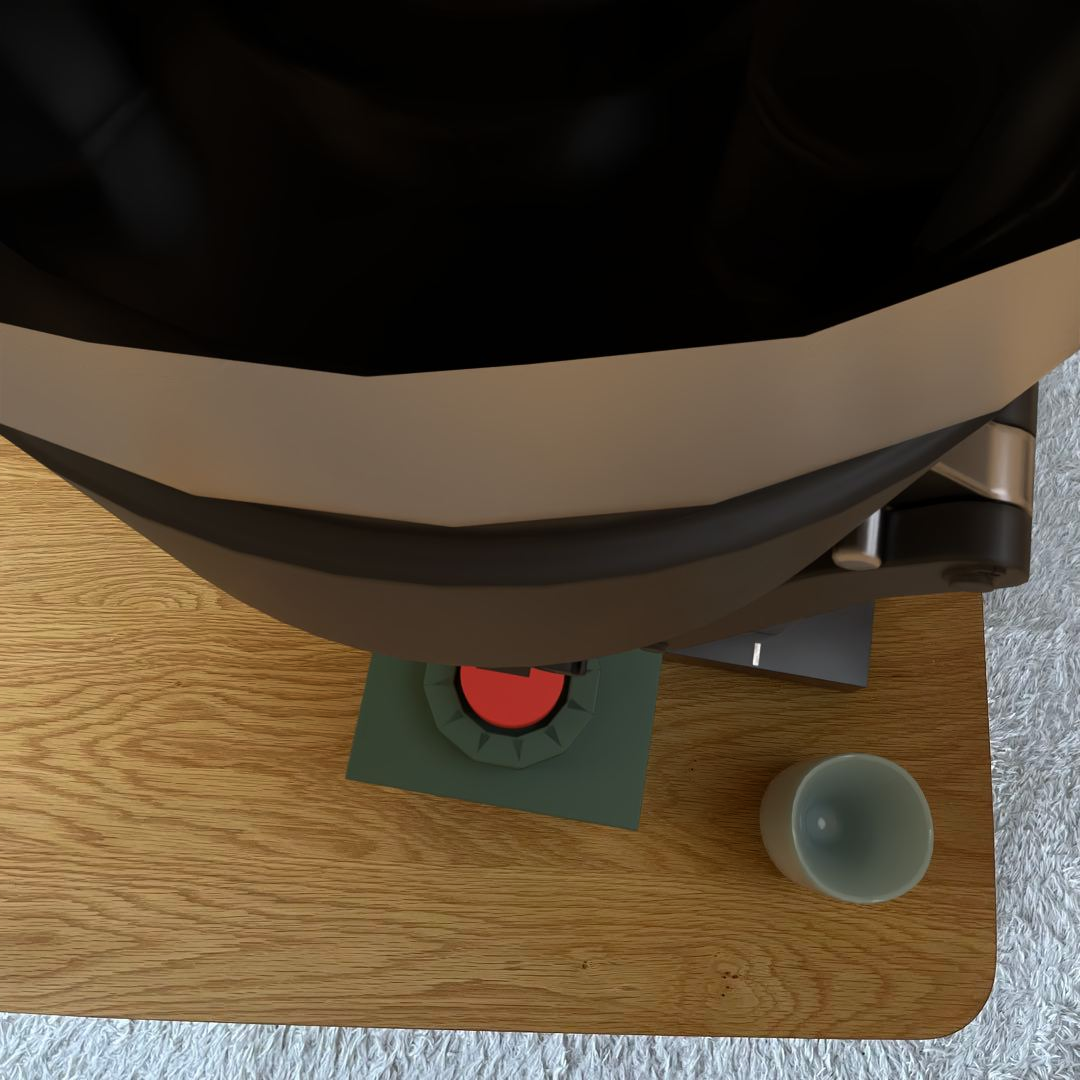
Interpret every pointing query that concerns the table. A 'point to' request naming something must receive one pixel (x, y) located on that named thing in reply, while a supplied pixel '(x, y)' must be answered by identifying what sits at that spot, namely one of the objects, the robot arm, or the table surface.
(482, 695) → the bell button
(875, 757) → the cup
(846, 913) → the table surface
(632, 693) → the post
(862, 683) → the dial plate
